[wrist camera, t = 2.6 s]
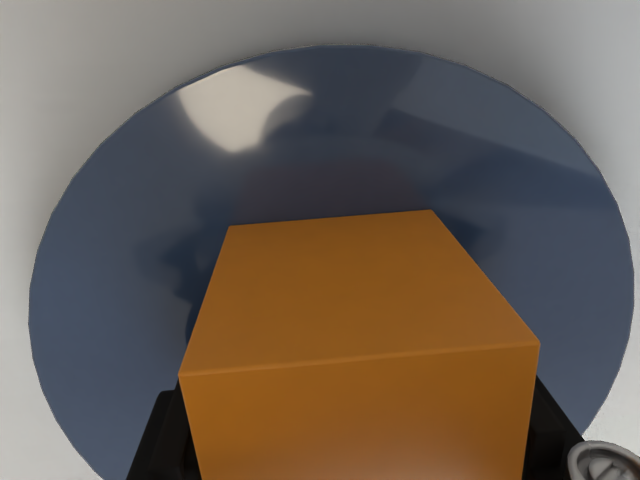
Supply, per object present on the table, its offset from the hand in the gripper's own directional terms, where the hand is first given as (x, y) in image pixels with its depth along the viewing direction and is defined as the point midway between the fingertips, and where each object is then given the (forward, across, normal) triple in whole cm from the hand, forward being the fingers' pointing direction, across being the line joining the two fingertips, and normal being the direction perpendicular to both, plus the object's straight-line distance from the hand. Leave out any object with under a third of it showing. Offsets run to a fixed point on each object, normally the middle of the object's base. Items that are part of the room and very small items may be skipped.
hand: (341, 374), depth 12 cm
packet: (0, 0, 0) cm, 0 cm away
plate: (+2, 0, 0) cm, 2 cm away
